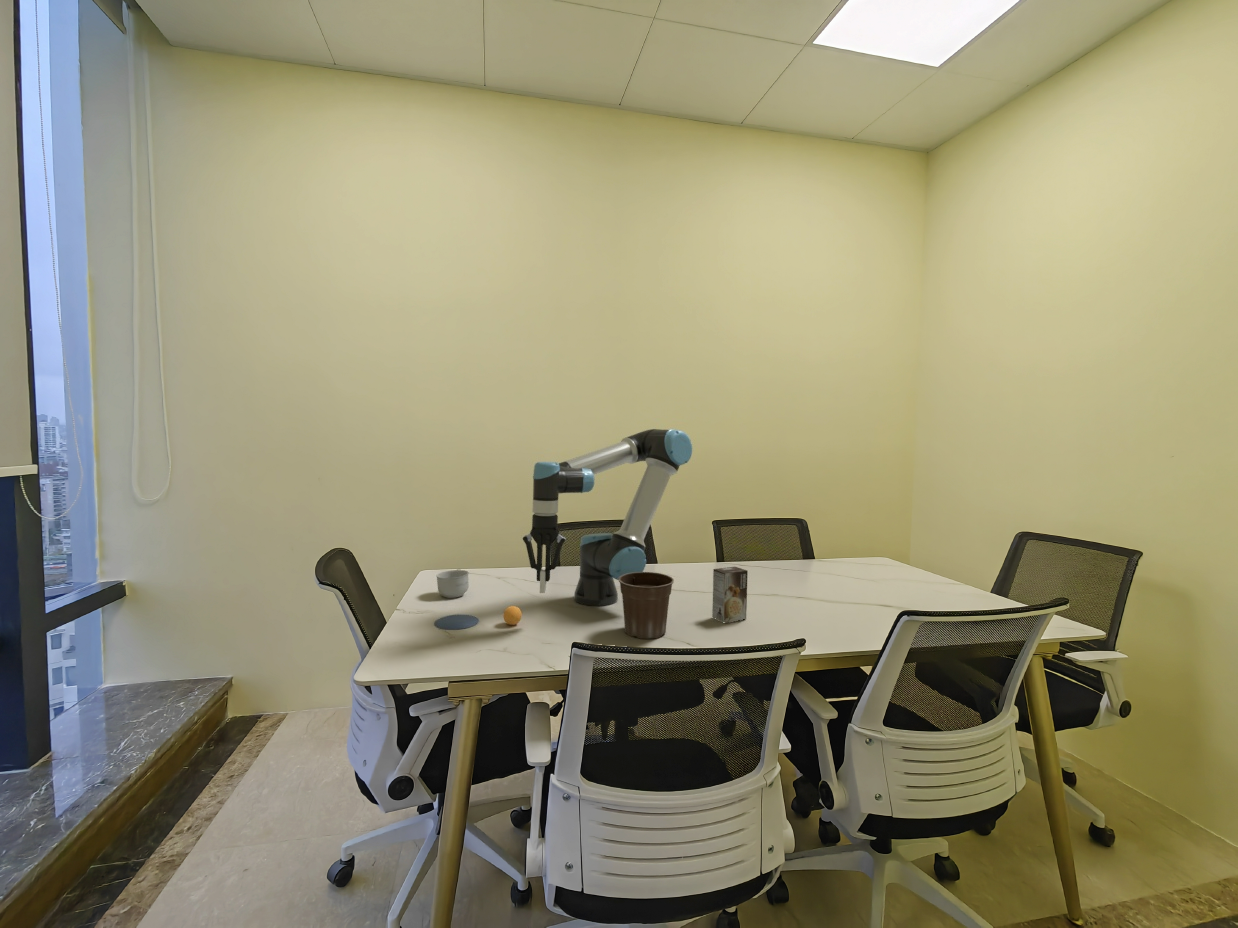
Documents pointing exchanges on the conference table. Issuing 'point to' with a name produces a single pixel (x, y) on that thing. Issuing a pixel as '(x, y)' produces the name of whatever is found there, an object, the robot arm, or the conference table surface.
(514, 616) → the ball
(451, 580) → the teacup
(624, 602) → the plant pot
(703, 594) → the conference table surface
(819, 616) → the conference table surface
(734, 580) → the coffee box
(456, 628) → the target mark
